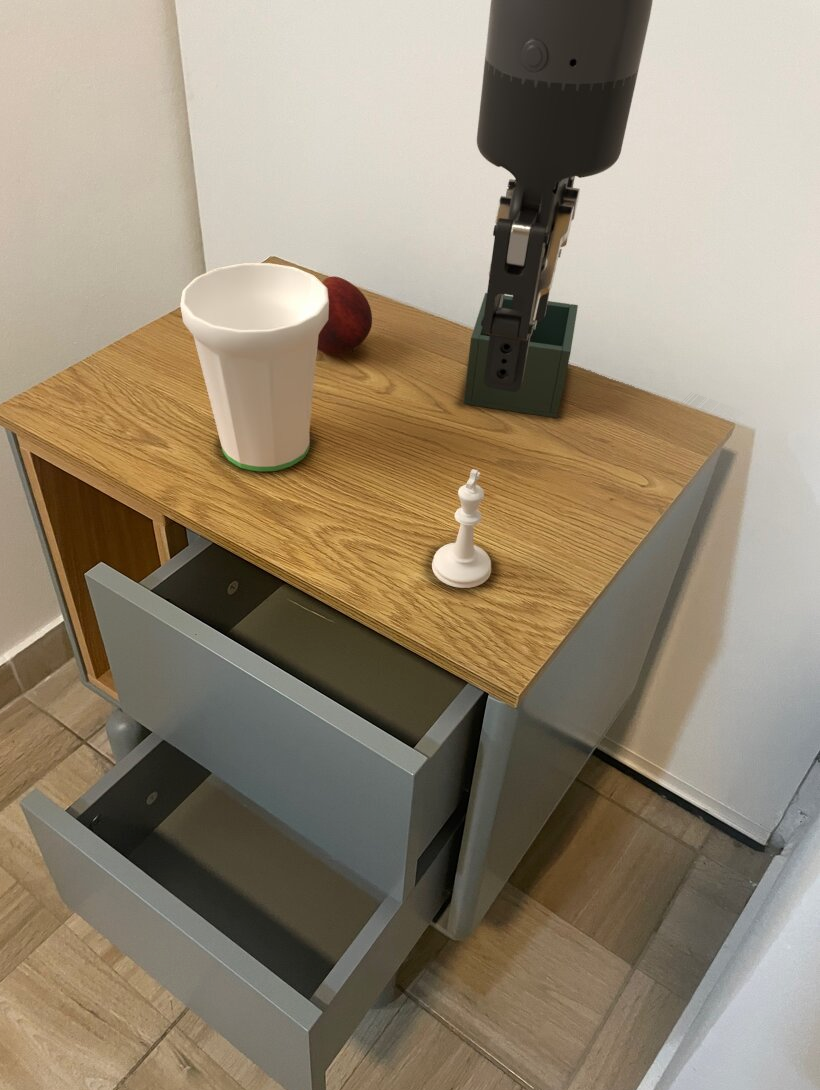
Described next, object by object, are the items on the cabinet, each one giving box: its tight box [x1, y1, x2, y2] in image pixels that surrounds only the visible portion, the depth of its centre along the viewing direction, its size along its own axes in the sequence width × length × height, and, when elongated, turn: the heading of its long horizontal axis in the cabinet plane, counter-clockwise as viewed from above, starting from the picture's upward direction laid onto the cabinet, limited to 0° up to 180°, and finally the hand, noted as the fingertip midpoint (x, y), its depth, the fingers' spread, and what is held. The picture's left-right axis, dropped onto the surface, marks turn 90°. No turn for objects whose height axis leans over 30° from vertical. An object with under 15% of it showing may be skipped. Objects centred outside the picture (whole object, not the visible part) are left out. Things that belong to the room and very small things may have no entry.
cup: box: [179, 262, 329, 472], centre depth 79 cm, size 12×12×15 cm
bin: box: [463, 292, 579, 419], centre depth 90 cm, size 10×10×8 cm
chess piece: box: [431, 468, 492, 589], centre depth 69 cm, size 5×5×10 cm
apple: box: [317, 276, 373, 356], centre depth 94 cm, size 7×8×8 cm
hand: (515, 351), depth 55 cm, fingers open, 8 cm apart
